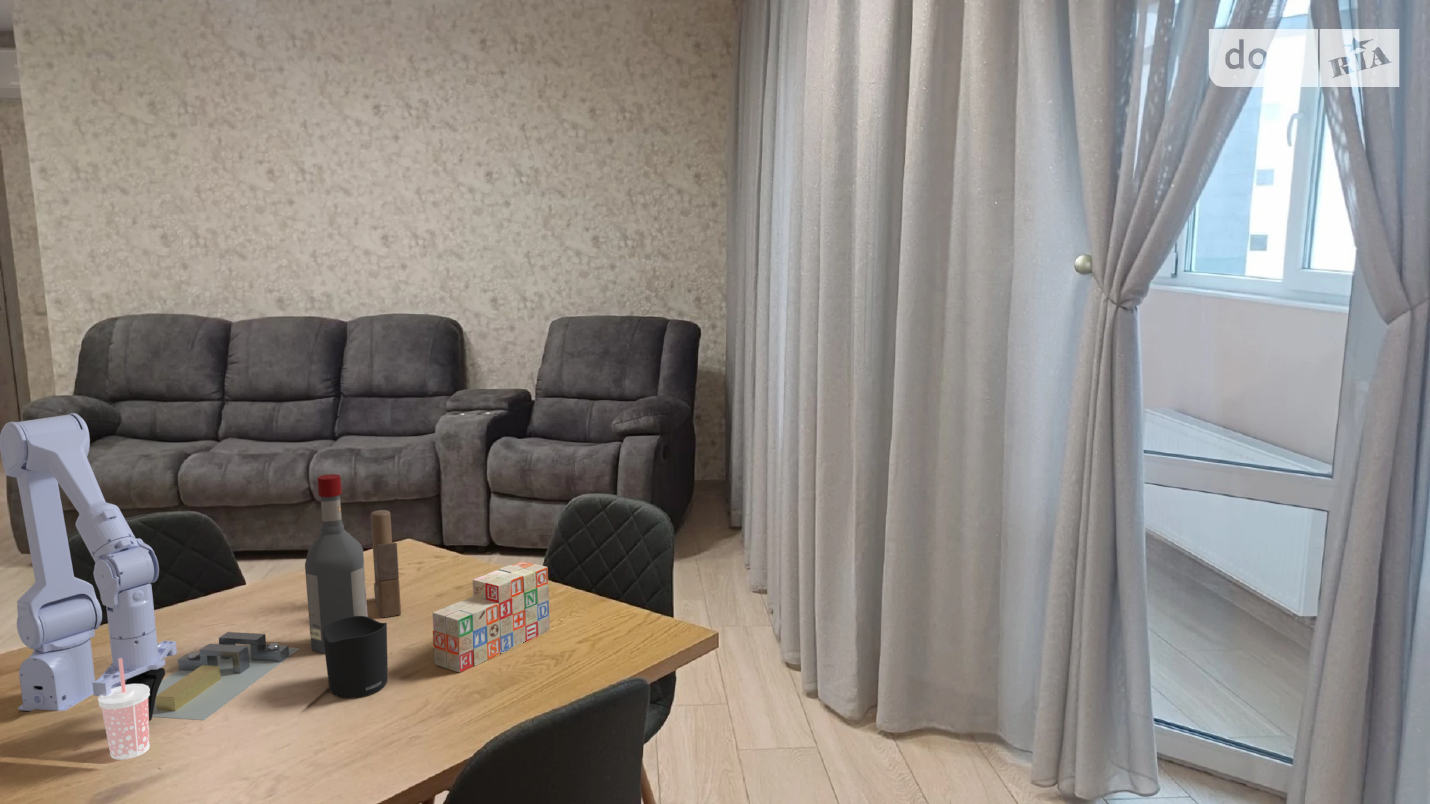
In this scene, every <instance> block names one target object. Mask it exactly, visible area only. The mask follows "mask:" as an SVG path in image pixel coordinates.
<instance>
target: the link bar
mask: <svg viewBox="0 0 1430 804" xmlns="http://www.w3.org/2000/svg"><path fill="white" fill-rule="evenodd" d="M219 680H221V674H220V666H209V665H202V666H200V667H199V668H197V669H196V670H194V671H193V672H191V673H190V674H188V675H187V676H185V677H184V678H182V679H181V680H179V681H178V682H176V683H175V684H173V685H172V686H170V687H169V688H167V689H166V690H164V691H162V692H161V693H159V694H158V695H156V706H157V710H165V711H176V710H178V709H179V708H181V707H182V706H183V705H185V704H186V703H188V702H189V701H191V700H192V699H193V698H195V697H196V696H198V695H199V694H201V693H202V692H203V691H205V690H206V689H208V688H209V687H211V686H212V685H213V684H215V683H216V682H218V681H219Z"/></svg>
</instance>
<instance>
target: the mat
mask: <svg viewBox="0 0 1430 804" xmlns="http://www.w3.org/2000/svg"><path fill="white" fill-rule="evenodd" d="M240 645H241V646H248V655H249V666H250V667H249V668H248V669H246V670H245V671H244V672H242V673H241V674H235V673H233V661H232V657H230V658H228V659H221V658H220V656H217V660H218V666H220V674H221V680H219V681H218V682H216V683H215V684H213V685H212V686H211V687H209V688H208V689H206V690H205V691H203V692H202V693H201V694H199V695H198V696H196V697H195V698H193V699H192V700H191V701H189V702H188V703H186V704H185V705H183V706H182V707H181V708H179V709H178V710H176V711H165V710H157V706H156V699H155V704H154V710H153V715H152V718H165V719H179V720H181V719H182V720H195V721H196V720H197V721H205V720H207V719H208V718H209V717H210V716H212V715H213V714H215V713H216V712H217V711H219V710H220V709H221V708H222V707H223V708H224V706H225V705H227V704H228V703H230V702H231V701H232V700H234V699H235V698H236V697H238V696H239V695H240V694H241V693H243V692H244V691H246V690H247V689H248V688H249V687H251V686H252V685H253V684H255V683H256V682H258V681H259V680H260V679H262V678H263V677H265V675H267V674H268V673H270V672H271V671H272V670H274V669H275V668H277V666H279V665H280V664H282V663H283V662H284V661H286V660H287V659H288V658H290V657H291V656H292V655H293V654H295V653H296V652H297V651H299V650H300V649H301V648H299V647H289V657H287V658H286V659H285V660H283V661H282V662H268V661H252V658H251V646H250V645H249V644H240ZM191 672H193V671H184V670H179V669H178V670H177V671H175V672H173V673H171V674H170V675H168V676H167V677H165V678H163V680H162V682H161V684H160V686H159V689H158V692H157V695H158V694H159V693H161V692H162V691H164V690H166V689H167V688H169V687H170V686H172V685H173V684H175V683H176V682H178V681H179V680H181V679H182V678H184V677H185V676H187V675H188V674H190V673H191Z"/></svg>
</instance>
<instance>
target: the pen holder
mask: <svg viewBox="0 0 1430 804" xmlns="http://www.w3.org/2000/svg"><path fill="white" fill-rule="evenodd" d="M387 625H388V624H387V622H379V621H378V620H375V619H374V618H372V617H369V616H368V617H366V616H352V617H347V618H342V619H339V620H336V621H334V622H331V623H329V624H328V625H326V626H325V627H324V629H323V639H324V648H325V654H324V656H325V665H326V672H327V673H326V674H327V679H328V688H329V691H330V692H331V694H333V695H334V696H335V697H338V698H343V699H353V698H354V699H355V698H356V699H357V698H358V699H359V698H364V697H368V696H371V695H374V694H376V693H378V692H379V691H381V690H383V689H384V688H385V687H386V685H387V684H388V675H389V674H388V626H387ZM382 688H383V689H382Z"/></svg>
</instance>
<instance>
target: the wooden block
mask: <svg viewBox="0 0 1430 804" xmlns="http://www.w3.org/2000/svg"><path fill="white" fill-rule="evenodd" d="M370 523H371V525H370V526H371V538H372V539H371V541H372V557H373V571H374V572H373V573H374V583H373V589H374V591H373V592H374V600H375V603H376V606H377V608H378V611H379V614H380V617H381V618H382V617H385V618H391V617H390V616H392V617H397V616H396V615H398V616H401V615H402V606H401V603H402V602H401V589H400V588H401V587H400V579H399V578H400V575H399V574H400V572H399V559H398V558H399V557H398V544H397V543H398V542H393V537H392V536H393V535H392V519H391V512H390V511H389V510H387V509H379V510H374V511H372V512H371V513H370Z"/></svg>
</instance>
